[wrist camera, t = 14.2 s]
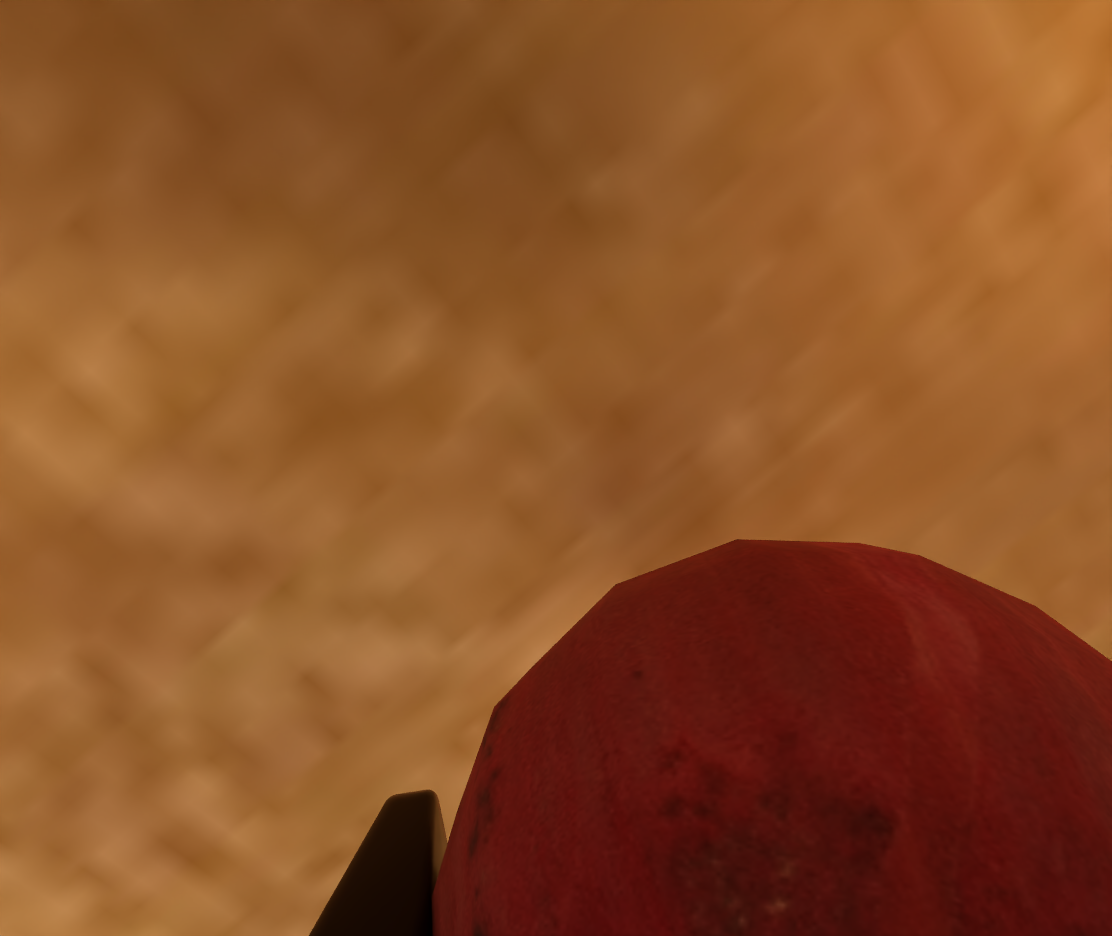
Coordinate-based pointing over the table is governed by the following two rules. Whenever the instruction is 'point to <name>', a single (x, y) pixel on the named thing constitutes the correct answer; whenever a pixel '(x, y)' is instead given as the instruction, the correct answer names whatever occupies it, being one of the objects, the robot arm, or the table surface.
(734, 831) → the onion
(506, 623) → the table surface
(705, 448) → the table surface
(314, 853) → the table surface
